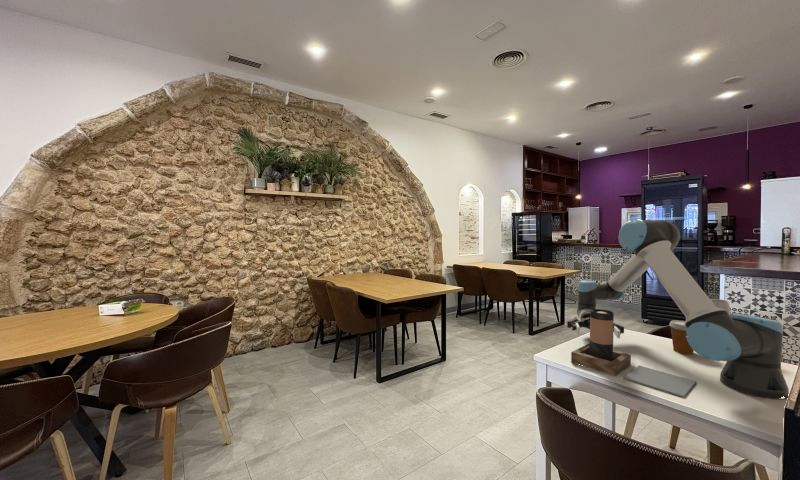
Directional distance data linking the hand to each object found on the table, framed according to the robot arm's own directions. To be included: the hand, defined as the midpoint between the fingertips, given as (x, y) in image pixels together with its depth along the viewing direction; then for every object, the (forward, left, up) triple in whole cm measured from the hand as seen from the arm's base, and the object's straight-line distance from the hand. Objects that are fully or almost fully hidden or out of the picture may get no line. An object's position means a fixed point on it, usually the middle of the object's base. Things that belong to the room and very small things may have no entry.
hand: (598, 332), depth 129 cm
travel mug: (-2, +3, -11) cm, 12 cm away
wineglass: (-26, -53, -11) cm, 60 cm away
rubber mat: (-20, +3, -11) cm, 23 cm away
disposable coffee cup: (-18, -38, -11) cm, 44 cm away
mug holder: (-2, +3, -11) cm, 11 cm away
